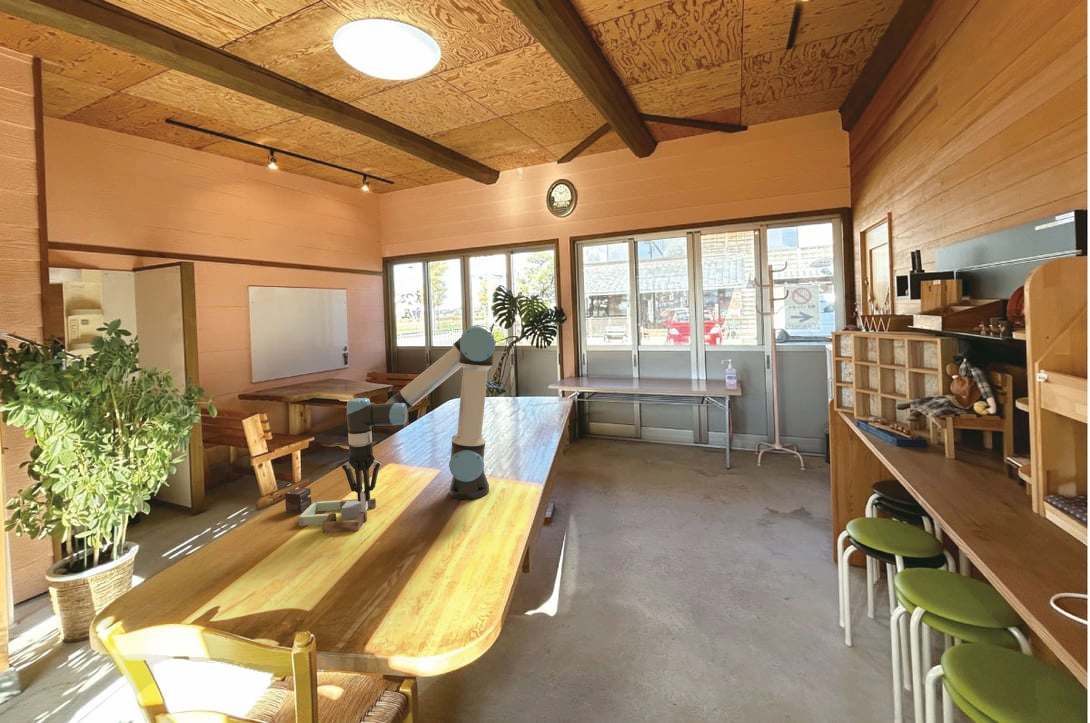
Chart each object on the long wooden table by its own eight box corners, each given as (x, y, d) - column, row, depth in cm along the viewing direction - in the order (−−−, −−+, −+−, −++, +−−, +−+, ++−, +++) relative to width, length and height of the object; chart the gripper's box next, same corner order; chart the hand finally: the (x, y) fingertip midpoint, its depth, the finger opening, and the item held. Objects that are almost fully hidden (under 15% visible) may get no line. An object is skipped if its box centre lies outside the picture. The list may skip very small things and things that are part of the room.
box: (300, 514, 164) (299, 494, 163) (285, 513, 165) (284, 493, 164) (312, 507, 170) (310, 488, 169) (297, 506, 171) (296, 487, 170)
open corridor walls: (376, 506, 169) (375, 498, 169) (359, 530, 150) (359, 521, 149) (341, 508, 168) (341, 500, 168) (321, 533, 149) (320, 524, 148)
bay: (341, 508, 168) (341, 500, 168) (328, 524, 155) (328, 515, 155) (314, 509, 167) (313, 501, 167) (298, 526, 154) (298, 517, 154)
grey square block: (365, 511, 165) (364, 500, 165) (360, 518, 159) (359, 507, 159) (347, 512, 165) (347, 501, 164) (342, 519, 159) (341, 508, 158)
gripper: (382, 439, 164) (386, 504, 167) (344, 441, 163) (348, 506, 165) (377, 445, 157) (381, 513, 159) (337, 447, 156) (341, 515, 158)
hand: (364, 509), depth 162 cm, fingers closed
